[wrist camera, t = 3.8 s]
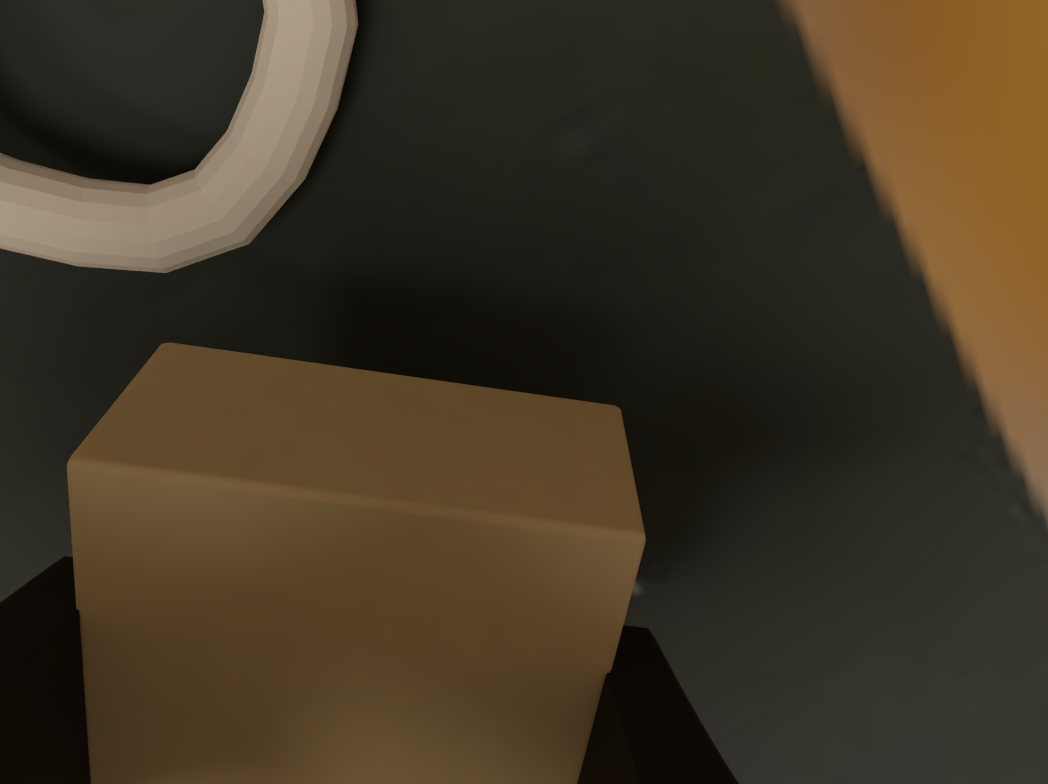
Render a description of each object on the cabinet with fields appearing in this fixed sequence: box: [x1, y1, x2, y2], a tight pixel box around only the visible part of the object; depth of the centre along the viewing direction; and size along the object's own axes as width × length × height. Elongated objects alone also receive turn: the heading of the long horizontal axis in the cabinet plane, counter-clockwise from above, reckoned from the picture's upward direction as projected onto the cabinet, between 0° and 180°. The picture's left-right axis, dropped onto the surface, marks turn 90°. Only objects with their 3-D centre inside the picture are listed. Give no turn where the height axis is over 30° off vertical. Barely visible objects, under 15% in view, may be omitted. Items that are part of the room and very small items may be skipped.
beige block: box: [67, 343, 646, 784], centre depth 11 cm, size 6×5×2 cm
